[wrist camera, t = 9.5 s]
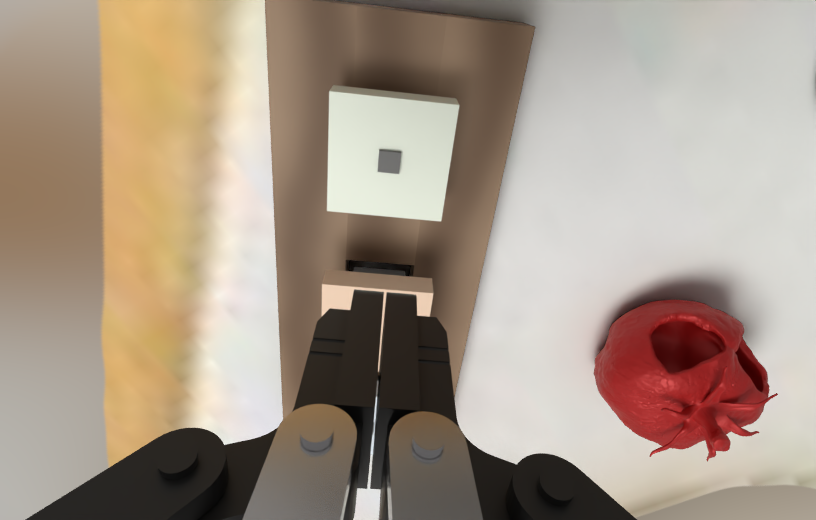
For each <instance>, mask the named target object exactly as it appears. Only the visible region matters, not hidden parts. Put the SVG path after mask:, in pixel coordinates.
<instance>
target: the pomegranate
mask: <svg viewBox="0 0 816 520" xmlns="http://www.w3.org/2000/svg"><path fill="white" fill-rule="evenodd" d="M743 334H744V328H743V325H742V323H741V322H739V321H738V320H737V319H735V318H733V317H732V316H730V315H728V314H726V313H725V312H723V311H721V310H718V309H713V308H712V307H710V306H708V305H706V304H704V303H700V302H695V301H686V300H675V299H673V300H663V301H654V302H649V303H646V304H644V305H642V306H639V307H637V308H635V309H633V310H630V311H629V312H627V313H625V314H624V315H623V316H621V317H620V318H618V319H617V320H616V321H615V322H614V323H613V324H612V325H611V327H610V329H609V335H608V337H607V341H606V344H605V346H604V348H603V349H602V350H601V351H600V353H599V354H598V355H597V356H596V358H595V369H594V375H595V379H596V385H597V387H598V391H599V393H600V394H601V396H602V397H603V398H604V400H605V401H606V402H607V403H608V405H609V406H610V407H611V409H612V410H613V411H614V412H615V413H616V414H617V416H618V417H619V419H620V420H621V421H622V422H623V423H624V425H625V426H627V427H628V428H629V429H631V430H632V431H633V432H634V433H636V434H637V435H639V436H641V437H643V438H645V439H648V440H650V441H653V442H656V443H658V444H659V445H662V446H663V447H660V448H658V449H655V450H654V451H652V452H651V454H650V457H651V455H652V454H654V453H657V452H660V451H663V450H667V449H668V448H676V449H686V448H689V447H691V446H693V445H695V444H697V443H699V442H701V441H704V440H706V444H707V448H708V451H709V454H708V457H707V461H708V459H709V458H712V457H715V456H716V451H728V450H729V448H730V440H729V438H728V437H727V435H726V434H728V433H729V432H733V433H735V434H738V435H740V436H752V435H754V434H756V433H759V432H758V431H755V432H749V431H747V430H745V429H742V428H741V427H743V426H746V425H748V424H752V423H754V422H755V421H756V420H757V419H758V418H759V417H760V415H761V413H762V412H763V409H764V405H765V403H766V402H767V401H769V400H770V399H771V398H773V397H775V396H777V393H776V394H775V395H772V396H770V397H768V394H769V385H768V383H767V382H768V377H767V372H766V370H765V368H764V367H763V366H762V365H761V364H760V363H759V362H758V360H757V359H756V358H755V356H754V355H753V353H752V351H751V350H750V348H749V347H748V346H747V345H746V343H745V341H744V340H743V337H742V336H743Z"/></svg>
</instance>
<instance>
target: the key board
mask: <svg viewBox="0 0 816 520" xmlns="http://www.w3.org/2000/svg"><path fill="white" fill-rule="evenodd" d="M265 14H266V37H267V60H268V83H269V106H270V129H271V152H272V175H273V198H274V221H275V244H276V267H277V290H278V313H279V336H280V359H281V382H282V405H283V419H284V418H285V417H286V416H288V415H289V414H290V413H291V412H292V411H293V408H294V406H295V402H296V398H297V395H298V391H299V387H300V383H301V380H302V376H303V372H304V368H305V365H306V361H307V357H308V354H309V350H310V346H311V342H312V340H313V335H314V331H315V328H316V324H317V321H318V320H319V319H320V318H321V317H322V282H323V279H324V275H325V271H326V269H327V270H339V271H349V260H357V261H369V262H380V263H392V264H404V265H411V269H410V277H422V278H432V283H433V293H434V294H433V300H432V306H431V312H430V317H437V319H438V320H439V321H440V323H441V324H442V326H443V327H444V329H445V330H446V332H447V338H448V347H449V350H448V352H449V356H450V365H451V374H452V383H453V392H454V396H455V392H456V387H457V382H458V378H459V373H460V369H461V364H462V360H463V355H464V350H465V346H466V341H467V337H468V332H469V328H470V323H471V318H472V314H473V309H474V305H475V300H476V296H477V291H478V286H479V282H480V277H481V273H482V268H483V264H484V259H485V254H486V250H487V245H488V241H489V236H490V232H491V227H492V222H493V218H494V213H495V209H496V204H497V200H498V195H499V190H500V186H501V181H502V177H503V172H504V168H505V163H506V158H507V154H508V149H509V145H510V140H511V136H512V131H513V126H514V122H515V117H516V113H517V108H518V104H519V99H520V94H521V90H522V85H523V81H524V76H525V72H526V67H527V62H528V58H529V53H530V49H531V44H532V40H533V35H534V30H535V27H534V26H531V25H528V24H525V23H520V22H512V21H504V20H495V19H487V18H478V17H470V16H462V15H453V14H445V13H436V12H428V11H420V10H411V9H403V8H395V7H386V6H378V5H369V4H361V3H353V2H344V1H336V0H265ZM333 85H338V86H347V87H356V88H366V89H375V90H384V91H393V92H403V93H412V94H421V95H430V96H440V97H449V98H456V99H457V101H458V103H459V111H458V118H457V124H456V130H455V137H454V143H453V149H452V156H451V162H450V169H449V175H448V181H447V188H446V194H445V200H444V207H443V213H442V220H441V221H430V220H419V219H408V218H397V217H386V216H375V215H364V214H353V213H342V212H332V211H327V181H328V129H329V91H330V89H331V88H332V86H333ZM377 376H379V372H378V375H377Z"/></svg>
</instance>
